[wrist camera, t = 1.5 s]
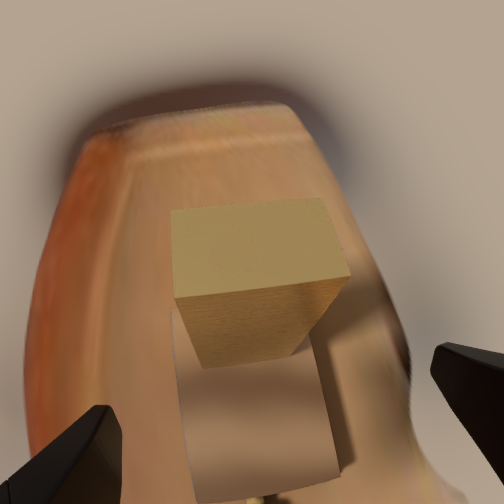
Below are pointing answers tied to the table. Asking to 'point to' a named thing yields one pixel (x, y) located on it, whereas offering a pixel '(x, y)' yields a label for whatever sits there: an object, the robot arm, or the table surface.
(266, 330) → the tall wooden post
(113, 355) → the table surface
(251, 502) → the gavel
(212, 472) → the tan flat block
